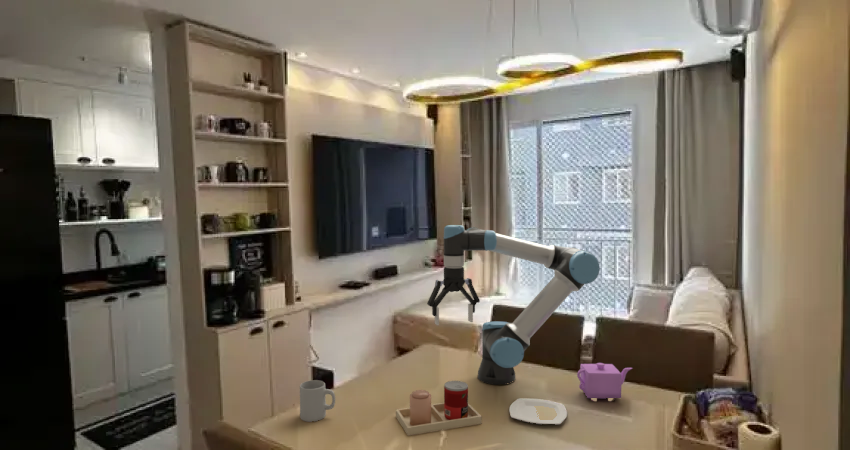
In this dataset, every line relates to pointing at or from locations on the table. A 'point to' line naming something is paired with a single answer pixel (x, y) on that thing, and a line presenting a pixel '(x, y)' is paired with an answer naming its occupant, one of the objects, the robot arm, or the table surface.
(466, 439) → the table surface
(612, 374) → the teapot
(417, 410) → the jar
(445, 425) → the divided tray
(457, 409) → the canned food
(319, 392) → the mug
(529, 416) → the plate
